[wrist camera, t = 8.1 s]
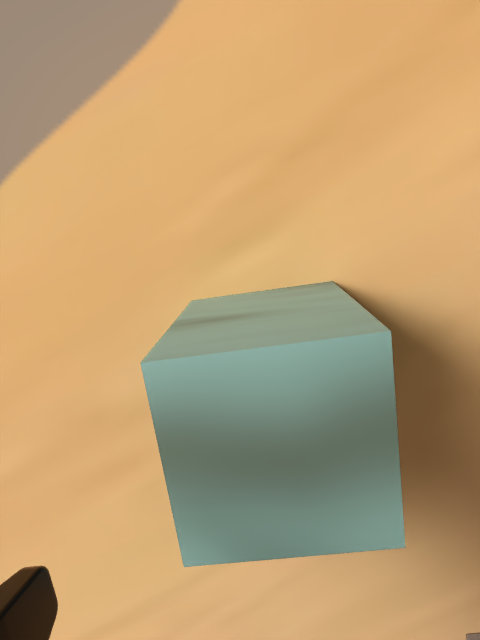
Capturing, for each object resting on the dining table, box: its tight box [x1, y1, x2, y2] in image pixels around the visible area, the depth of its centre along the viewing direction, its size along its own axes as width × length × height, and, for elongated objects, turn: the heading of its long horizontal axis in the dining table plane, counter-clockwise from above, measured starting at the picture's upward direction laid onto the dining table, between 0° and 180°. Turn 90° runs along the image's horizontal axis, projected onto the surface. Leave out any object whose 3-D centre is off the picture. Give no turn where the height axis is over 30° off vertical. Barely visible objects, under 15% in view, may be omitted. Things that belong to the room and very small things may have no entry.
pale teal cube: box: [141, 281, 405, 567], centre depth 14 cm, size 6×6×8 cm
